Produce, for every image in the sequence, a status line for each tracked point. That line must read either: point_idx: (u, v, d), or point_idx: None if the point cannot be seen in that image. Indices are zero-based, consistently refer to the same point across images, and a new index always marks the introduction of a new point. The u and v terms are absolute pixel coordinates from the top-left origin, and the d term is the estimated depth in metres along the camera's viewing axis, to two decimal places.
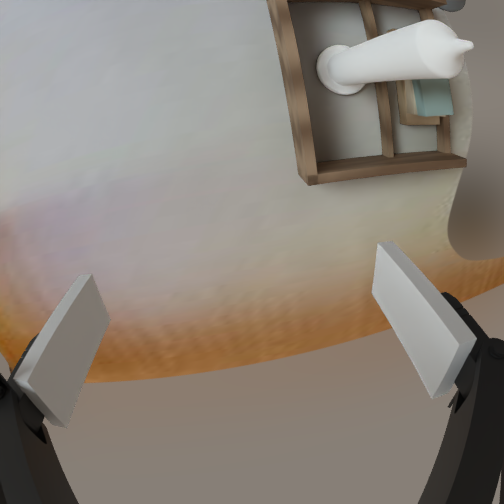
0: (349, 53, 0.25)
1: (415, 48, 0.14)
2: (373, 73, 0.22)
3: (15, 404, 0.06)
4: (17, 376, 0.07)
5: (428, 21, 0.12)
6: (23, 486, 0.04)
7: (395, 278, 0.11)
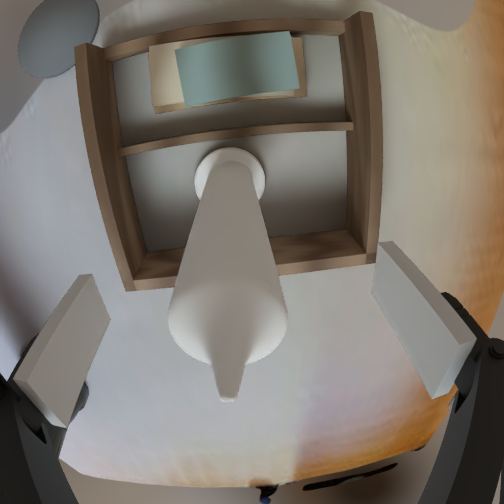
0: None
1: None
2: None
3: (15, 404, 0.06)
4: (17, 376, 0.07)
5: (181, 347, 0.11)
6: (23, 486, 0.04)
7: (395, 278, 0.11)
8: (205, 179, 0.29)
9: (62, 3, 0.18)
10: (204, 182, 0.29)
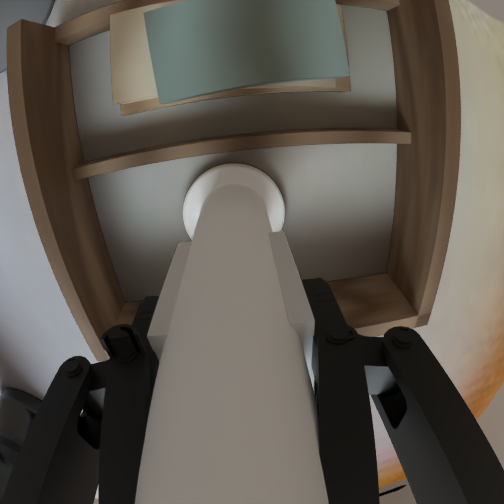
0: None
1: None
2: None
3: (147, 372, 0.08)
4: (152, 332, 0.09)
5: None
6: (130, 469, 0.05)
7: None
8: (198, 210, 0.20)
9: None
10: (197, 215, 0.20)
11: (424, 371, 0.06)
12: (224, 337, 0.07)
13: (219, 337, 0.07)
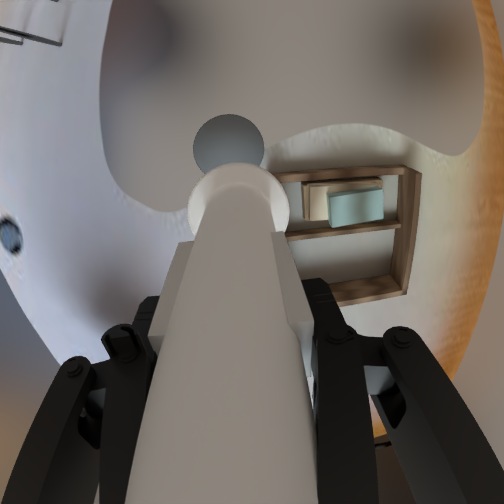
0: None
1: None
2: None
3: (147, 372, 0.08)
4: (153, 332, 0.09)
5: None
6: (130, 469, 0.05)
7: None
8: (202, 209, 0.20)
9: (232, 126, 0.43)
10: (201, 213, 0.20)
11: (423, 371, 0.06)
12: (220, 335, 0.07)
13: (215, 335, 0.07)
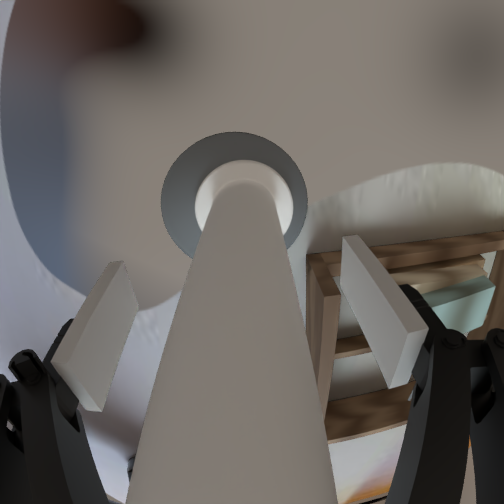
0: None
1: None
2: None
3: (51, 390, 0.07)
4: (55, 359, 0.08)
5: None
6: (52, 477, 0.04)
7: (356, 270, 0.12)
8: (210, 204, 0.21)
9: (244, 159, 0.21)
10: (208, 209, 0.21)
11: None
12: (229, 306, 0.08)
13: (225, 306, 0.08)
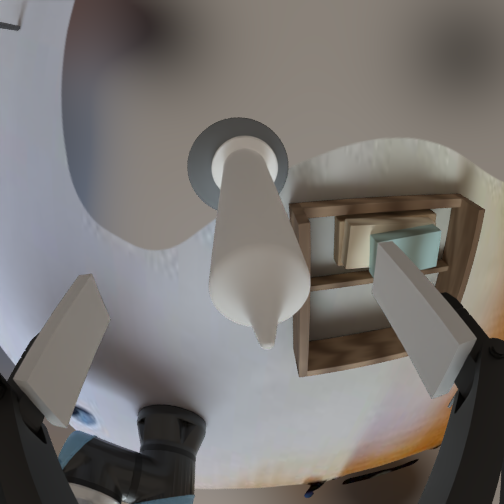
0: None
1: None
2: None
3: (15, 404, 0.06)
4: (17, 376, 0.07)
5: (218, 310, 0.13)
6: (23, 485, 0.04)
7: (395, 278, 0.11)
8: (222, 165, 0.31)
9: (244, 135, 0.30)
10: (221, 168, 0.31)
11: None
12: (250, 190, 0.18)
13: (248, 190, 0.18)
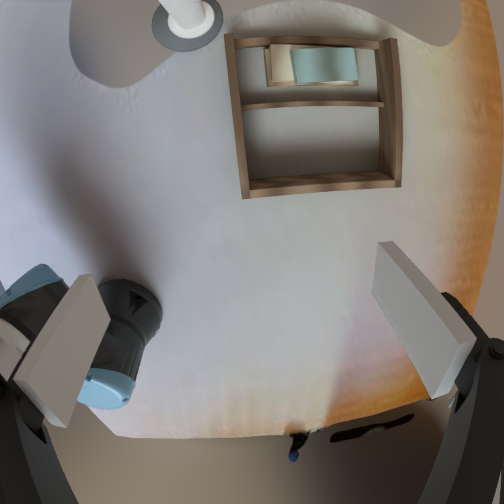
0: (174, 16, 0.28)
1: None
2: (191, 0, 0.24)
3: (15, 404, 0.06)
4: (17, 376, 0.07)
5: None
6: (23, 485, 0.04)
7: (395, 278, 0.11)
8: None
9: None
10: None
11: None
12: None
13: None
